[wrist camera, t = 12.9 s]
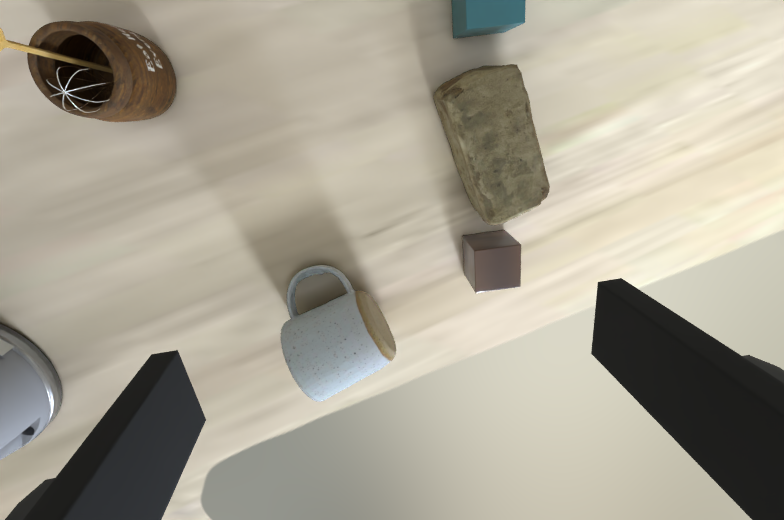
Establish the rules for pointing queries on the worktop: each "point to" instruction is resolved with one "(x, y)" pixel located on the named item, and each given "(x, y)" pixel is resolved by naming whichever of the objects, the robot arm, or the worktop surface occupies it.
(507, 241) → the walnut block
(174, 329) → the worktop surface
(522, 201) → the stone block
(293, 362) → the ceramic mug
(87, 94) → the utensil holder
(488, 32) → the teal block
